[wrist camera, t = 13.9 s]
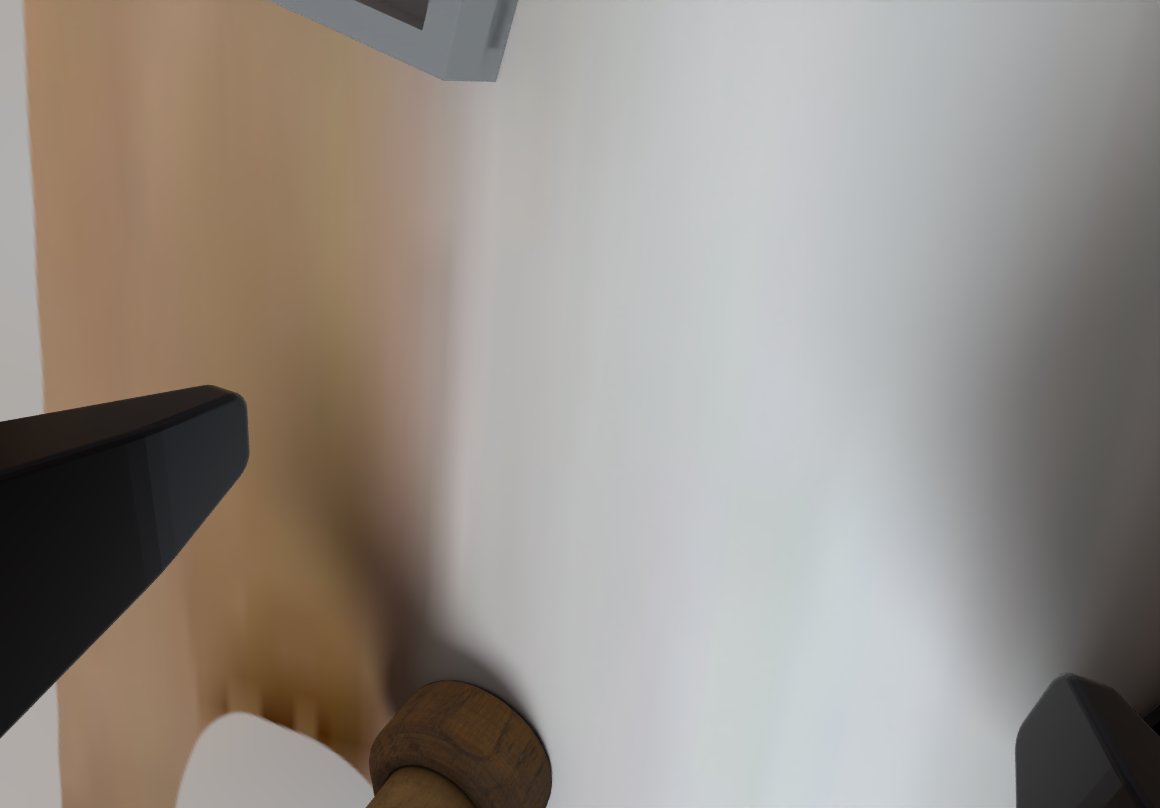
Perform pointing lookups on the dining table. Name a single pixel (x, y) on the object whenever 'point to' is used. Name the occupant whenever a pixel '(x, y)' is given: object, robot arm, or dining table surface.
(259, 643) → the dining table surface
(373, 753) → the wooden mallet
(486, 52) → the tray
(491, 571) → the dining table surface
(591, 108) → the dining table surface
